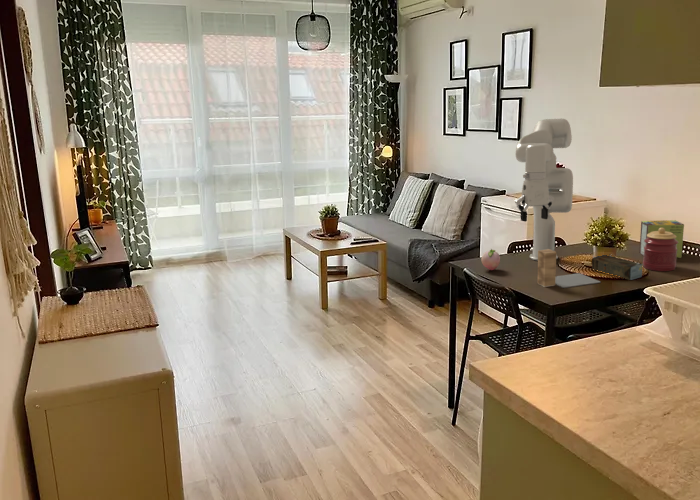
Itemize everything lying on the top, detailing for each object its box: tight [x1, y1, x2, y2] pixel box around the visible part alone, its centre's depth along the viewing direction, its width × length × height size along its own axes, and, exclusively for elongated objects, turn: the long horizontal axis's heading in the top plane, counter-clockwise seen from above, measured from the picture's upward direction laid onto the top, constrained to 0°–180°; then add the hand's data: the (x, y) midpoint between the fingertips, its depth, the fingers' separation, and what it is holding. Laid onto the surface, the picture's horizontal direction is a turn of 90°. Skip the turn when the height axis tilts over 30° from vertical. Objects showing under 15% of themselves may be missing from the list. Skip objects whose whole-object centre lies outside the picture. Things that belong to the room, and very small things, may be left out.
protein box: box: [638, 219, 685, 259], centre depth 272 cm, size 10×15×16 cm
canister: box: [642, 228, 678, 272], centre depth 252 cm, size 13×13×18 cm
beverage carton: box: [591, 255, 643, 281], centre depth 249 cm, size 8×19×7 cm, turn 30°
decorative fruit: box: [480, 248, 501, 271], centre depth 263 cm, size 9×8×10 cm
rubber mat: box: [555, 272, 601, 289], centre depth 243 cm, size 14×18×1 cm
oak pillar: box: [537, 249, 557, 288], centre depth 238 cm, size 5×5×14 cm
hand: (534, 219), depth 233 cm, fingers open, 9 cm apart
